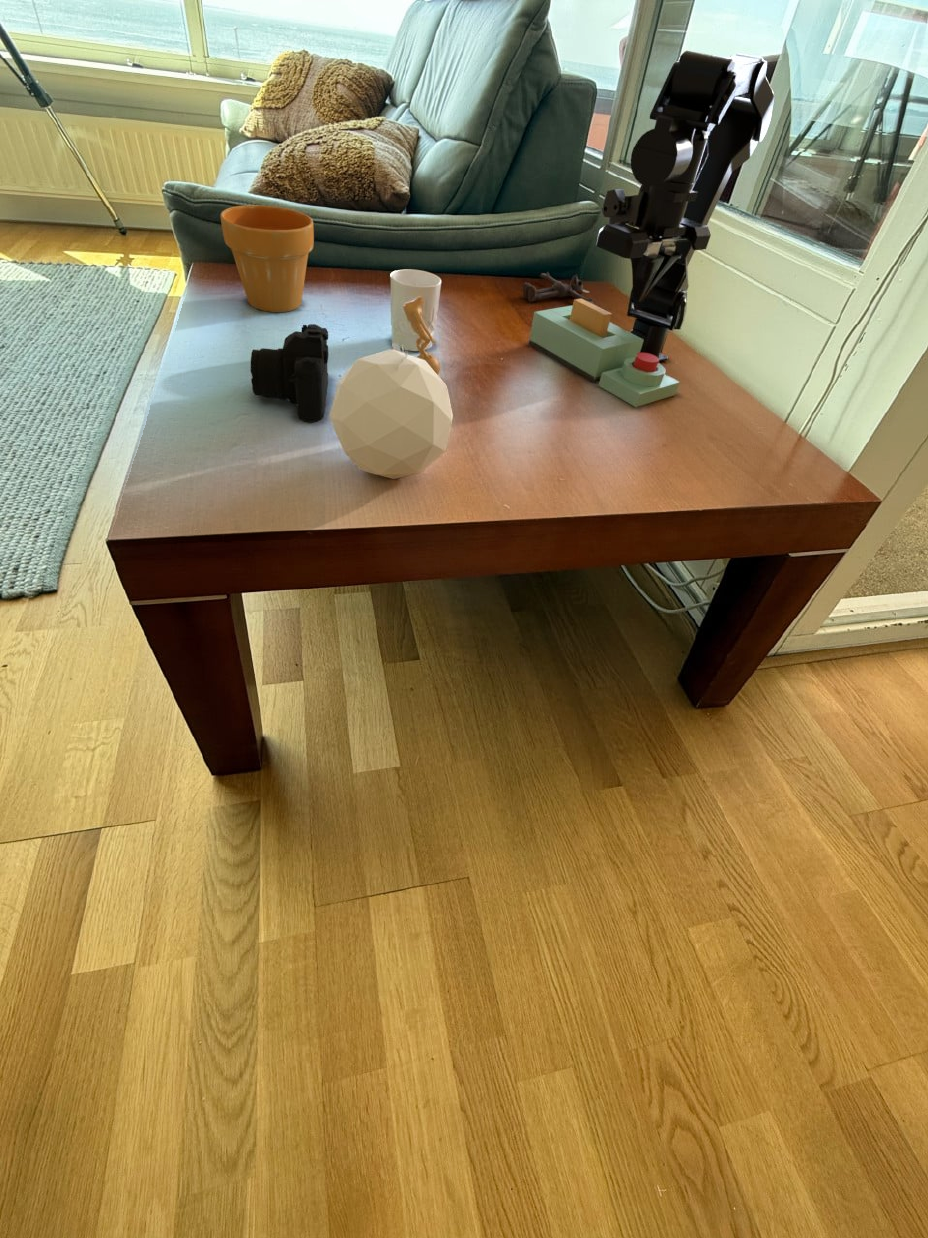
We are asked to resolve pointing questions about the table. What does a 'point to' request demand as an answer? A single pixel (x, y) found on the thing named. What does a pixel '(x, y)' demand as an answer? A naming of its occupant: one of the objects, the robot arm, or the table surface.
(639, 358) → the button
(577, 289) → the brown humanoid figure
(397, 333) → the white cup
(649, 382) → the control block
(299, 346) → the film camera
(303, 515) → the table surface
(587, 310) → the toast
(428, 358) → the figurine
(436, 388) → the geodesic sphere
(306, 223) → the flower pot
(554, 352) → the toaster
